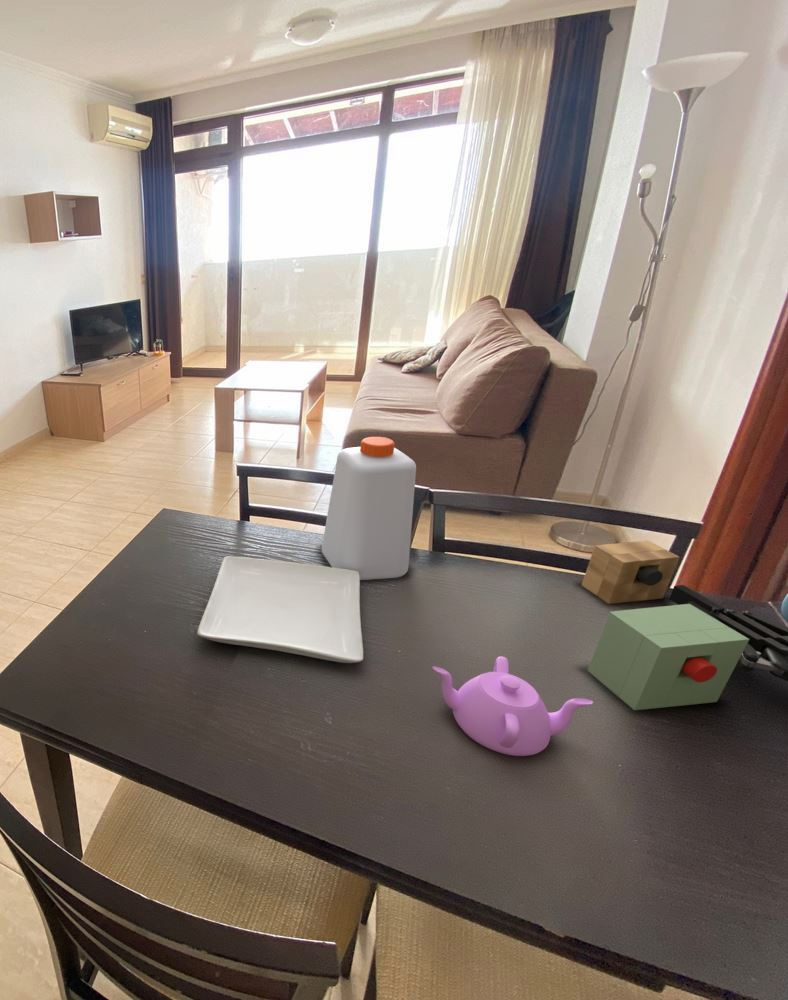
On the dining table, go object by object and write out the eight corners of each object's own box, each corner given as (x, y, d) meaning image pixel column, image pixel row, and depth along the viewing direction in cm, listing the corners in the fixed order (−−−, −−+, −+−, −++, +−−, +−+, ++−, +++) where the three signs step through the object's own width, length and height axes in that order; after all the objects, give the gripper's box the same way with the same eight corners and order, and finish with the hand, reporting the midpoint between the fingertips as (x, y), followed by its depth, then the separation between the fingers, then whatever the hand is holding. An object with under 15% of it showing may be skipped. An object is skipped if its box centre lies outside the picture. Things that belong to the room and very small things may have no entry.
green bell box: (632, 713, 77) (661, 648, 72) (586, 673, 84) (609, 611, 79) (715, 705, 77) (749, 639, 72) (661, 666, 84) (689, 603, 79)
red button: (690, 683, 73) (698, 666, 71) (678, 675, 74) (686, 658, 73) (712, 681, 73) (721, 664, 71) (700, 673, 74) (708, 656, 73)
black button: (642, 586, 94) (648, 572, 93) (634, 581, 96) (640, 567, 94) (659, 584, 94) (665, 570, 93) (651, 579, 96) (656, 565, 94)
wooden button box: (607, 606, 97) (623, 562, 93) (580, 588, 103) (594, 545, 99) (661, 601, 98) (680, 556, 94) (631, 583, 103) (648, 540, 99)
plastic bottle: (340, 585, 110) (354, 457, 98) (315, 548, 124) (325, 432, 112) (415, 579, 110) (438, 450, 98) (381, 543, 123) (398, 426, 111)
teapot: (575, 749, 72) (594, 701, 69) (489, 777, 70) (504, 728, 66) (499, 687, 83) (512, 642, 79) (422, 709, 80) (431, 663, 77)
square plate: (224, 568, 119) (224, 553, 117) (358, 585, 110) (360, 569, 108) (196, 648, 96) (195, 631, 95) (361, 678, 87) (364, 659, 85)
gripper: (796, 724, 70) (630, 614, 91) (892, 714, 70) (705, 606, 92) (823, 681, 67) (645, 577, 88) (924, 670, 67) (722, 569, 88)
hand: (676, 592), depth 90 cm, fingers closed
